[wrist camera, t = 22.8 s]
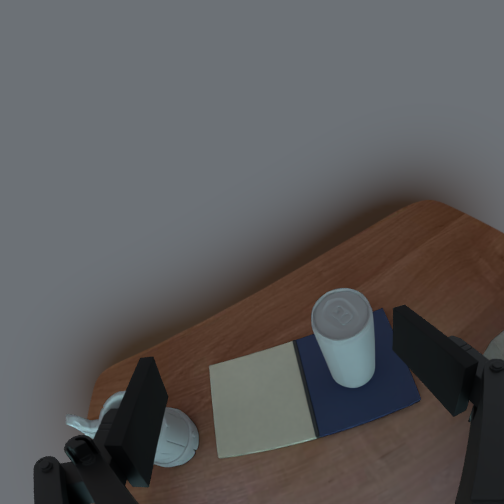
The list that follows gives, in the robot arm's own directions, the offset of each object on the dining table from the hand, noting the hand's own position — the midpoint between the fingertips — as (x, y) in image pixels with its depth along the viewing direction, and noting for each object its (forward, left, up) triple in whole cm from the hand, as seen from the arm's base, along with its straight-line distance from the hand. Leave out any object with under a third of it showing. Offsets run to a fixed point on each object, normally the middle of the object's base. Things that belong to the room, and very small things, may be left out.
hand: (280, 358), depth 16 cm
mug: (+20, -2, -19) cm, 28 cm away
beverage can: (-4, -5, -18) cm, 19 cm away
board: (+1, -5, -18) cm, 19 cm away
